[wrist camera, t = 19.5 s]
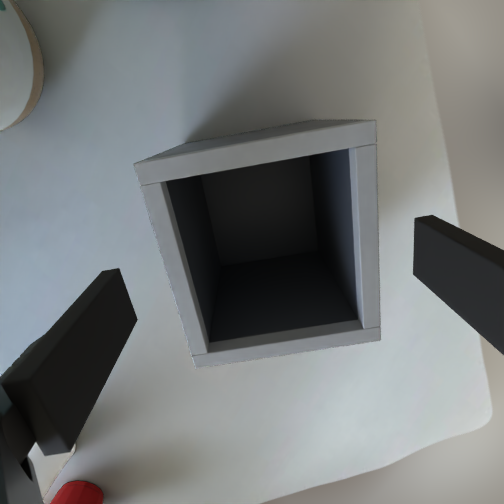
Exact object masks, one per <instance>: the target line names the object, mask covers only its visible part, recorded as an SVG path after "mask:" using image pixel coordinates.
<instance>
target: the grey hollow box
mask: <svg viewBox="0 0 504 504" xmlns="http://www.w3.org/2000/svg"><path fill="white" fill-rule="evenodd" d="M375 143H377V134H376V120H310V121H305V122H299V123H294V124H288V125H283V126H277V127H272V128H266V129H261V130H256V131H250V132H245V133H239V134H234V135H228V136H223V137H217V138H212V139H206V140H201V141H195V142H190V143H185V144H182V145H179V146H176V147H174V148H172V149H169V150H167V151H164V152H162V153H159V154H157V155H154V156H152V157H149V158H147V159H144V160H142V161H139V162H137V163H134V168H135V172H136V175H137V178H138V181H139V185H141V186H140V188H141V191H142V195H143V198H144V201H145V204H146V208H147V211H148V214H149V218H150V221H151V224H152V227H153V231H154V234H155V237H156V241H157V244H158V247H159V251H160V254H161V257H162V260H163V264H164V267H165V270H166V274H167V277H168V280H169V284H170V287H171V290H172V293H173V297H174V300H175V303H176V307H177V310H178V313H179V316H180V320H181V323H182V326H183V330H184V333H185V336H186V340H187V343H188V346H189V349H190V353H191V355H192V359H193V363H194V366H195V368H196V369H197V368H203V367H210V366H217V365H223V364H230V363H236V362H243V361H249V360H256V359H262V358H269V357H275V356H282V355H288V354H295V353H302V352H308V351H315V350H321V349H328V348H334V347H341V346H347V345H354V344H360V343H367V342H373V341H380V340H381V327H380V325H381V324H380V278H379V232H378V186H377V145H376V144H375Z"/></svg>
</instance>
